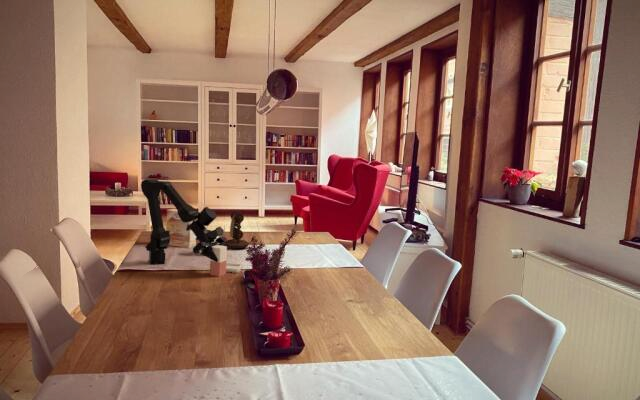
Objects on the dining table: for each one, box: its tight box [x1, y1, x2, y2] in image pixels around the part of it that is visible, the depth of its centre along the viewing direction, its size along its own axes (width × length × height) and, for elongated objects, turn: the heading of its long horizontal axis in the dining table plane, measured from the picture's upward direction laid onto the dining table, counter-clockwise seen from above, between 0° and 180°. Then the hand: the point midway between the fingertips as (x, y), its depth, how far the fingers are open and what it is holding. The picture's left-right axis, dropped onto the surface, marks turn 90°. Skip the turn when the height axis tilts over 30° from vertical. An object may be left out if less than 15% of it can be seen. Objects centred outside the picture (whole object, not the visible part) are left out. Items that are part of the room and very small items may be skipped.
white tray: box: [226, 262, 244, 274], centre depth 225 cm, size 10×10×2 cm
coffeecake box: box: [165, 208, 197, 249], centre depth 267 cm, size 15×7×20 cm, turn 73°
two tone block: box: [209, 245, 228, 277], centre depth 215 cm, size 5×5×12 cm
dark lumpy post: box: [223, 210, 250, 250], centre depth 271 cm, size 15×15×20 cm
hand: (221, 260), depth 214 cm, fingers closed on two tone block, 5 cm apart
